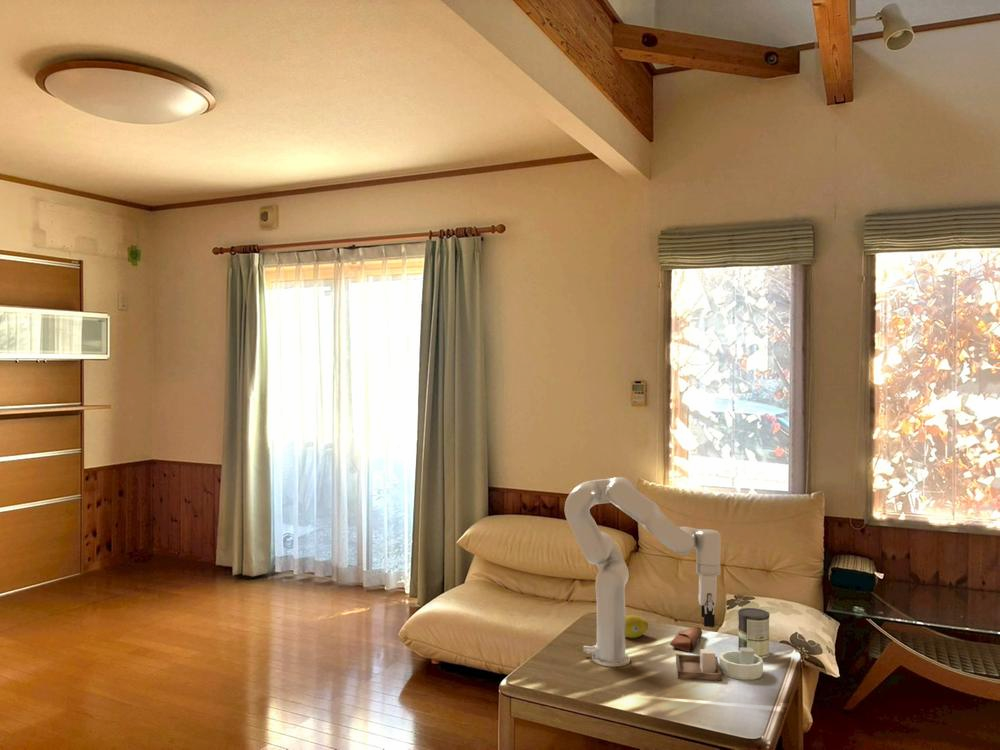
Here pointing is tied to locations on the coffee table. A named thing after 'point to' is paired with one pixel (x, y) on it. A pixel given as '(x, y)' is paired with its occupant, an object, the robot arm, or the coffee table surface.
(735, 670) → the celadon bowl
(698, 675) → the walnut tray
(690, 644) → the sunglasses case
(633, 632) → the lemon
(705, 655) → the beige brick
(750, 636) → the coffee can
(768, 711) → the coffee table surface
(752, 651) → the light grey block
